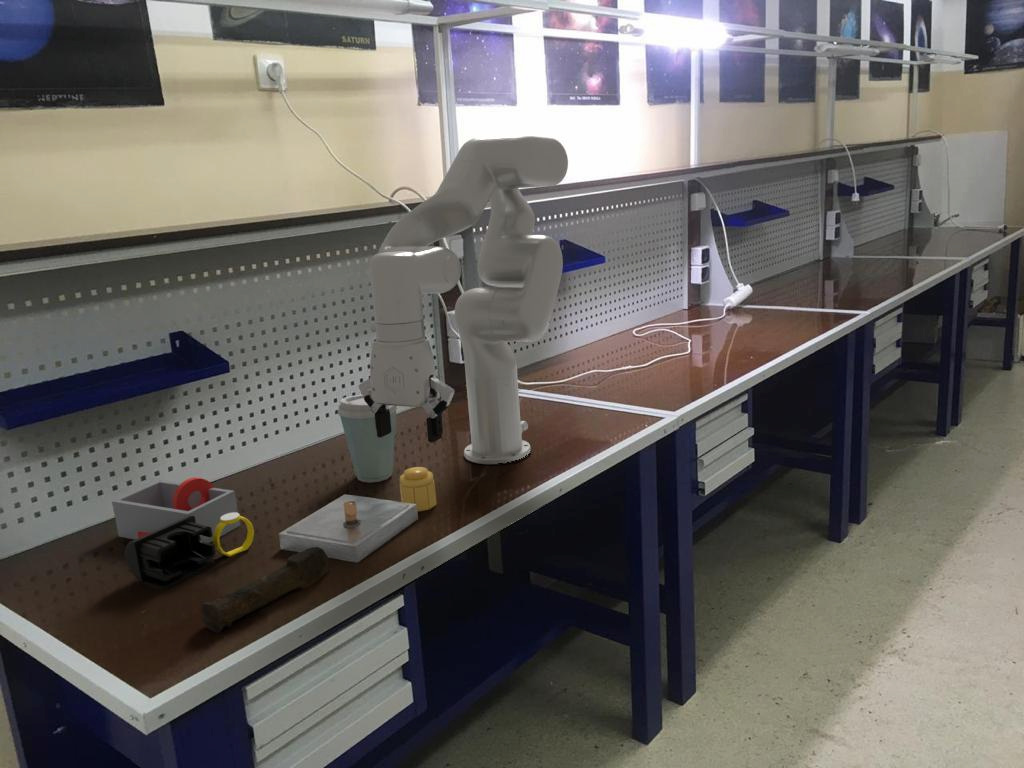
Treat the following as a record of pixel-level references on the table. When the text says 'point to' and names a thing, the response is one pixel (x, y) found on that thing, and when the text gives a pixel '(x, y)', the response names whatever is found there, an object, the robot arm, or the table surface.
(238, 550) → the watch
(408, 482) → the wire nut
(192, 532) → the end cap
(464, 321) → the robot arm
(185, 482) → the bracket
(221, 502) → the parts corral
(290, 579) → the dark brown wood branch
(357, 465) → the disposable coffee cup
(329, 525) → the plate
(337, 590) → the table surface
